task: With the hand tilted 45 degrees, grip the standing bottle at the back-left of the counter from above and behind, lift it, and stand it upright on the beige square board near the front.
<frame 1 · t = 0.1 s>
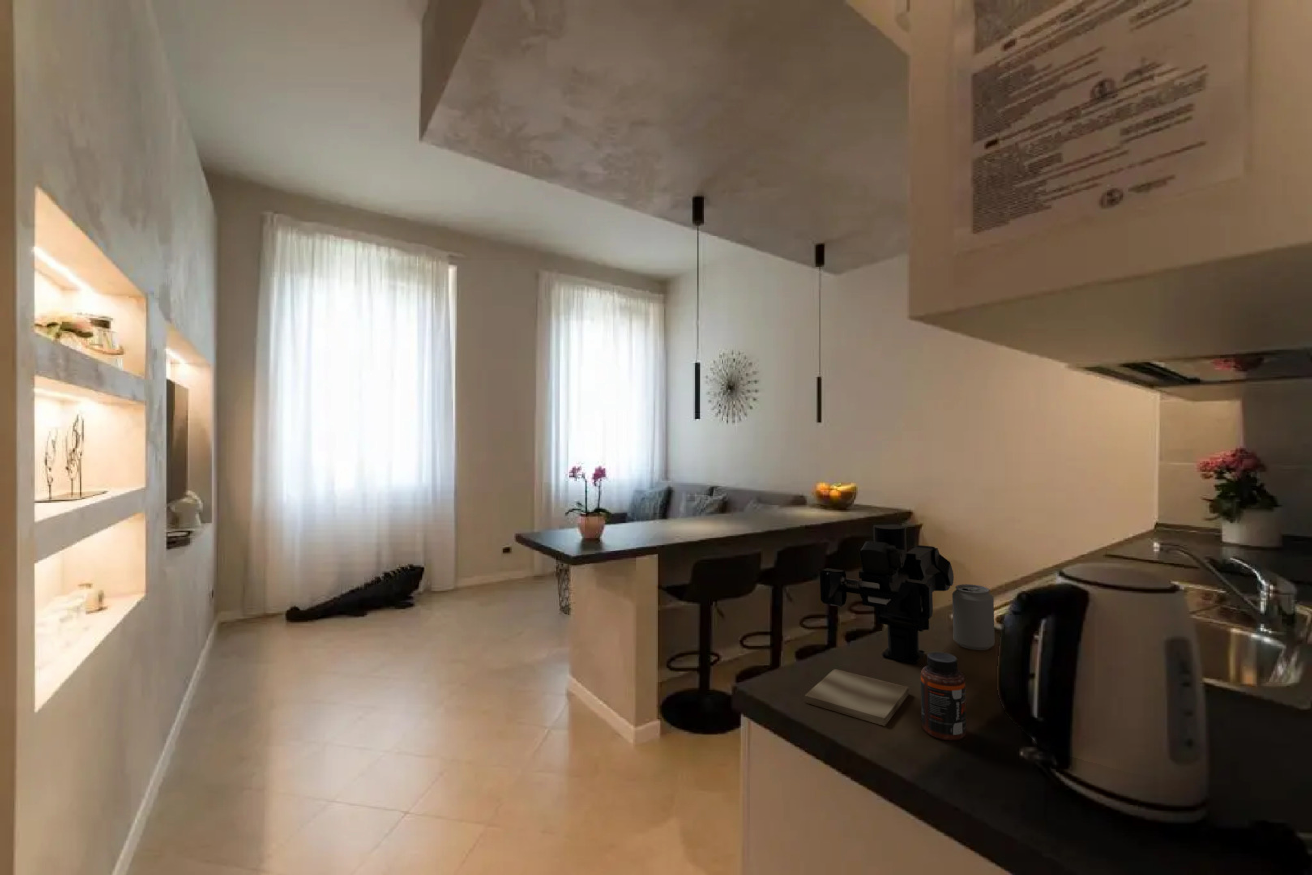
hand: (856, 605, 93), 17 cm above the worktop, tool horizontal, fingers open, 9 cm apart
supplement bottle: (943, 733, 85), on the worktop
can: (973, 645, 118), on the worktop
beige square board: (857, 698, 96), on the worktop
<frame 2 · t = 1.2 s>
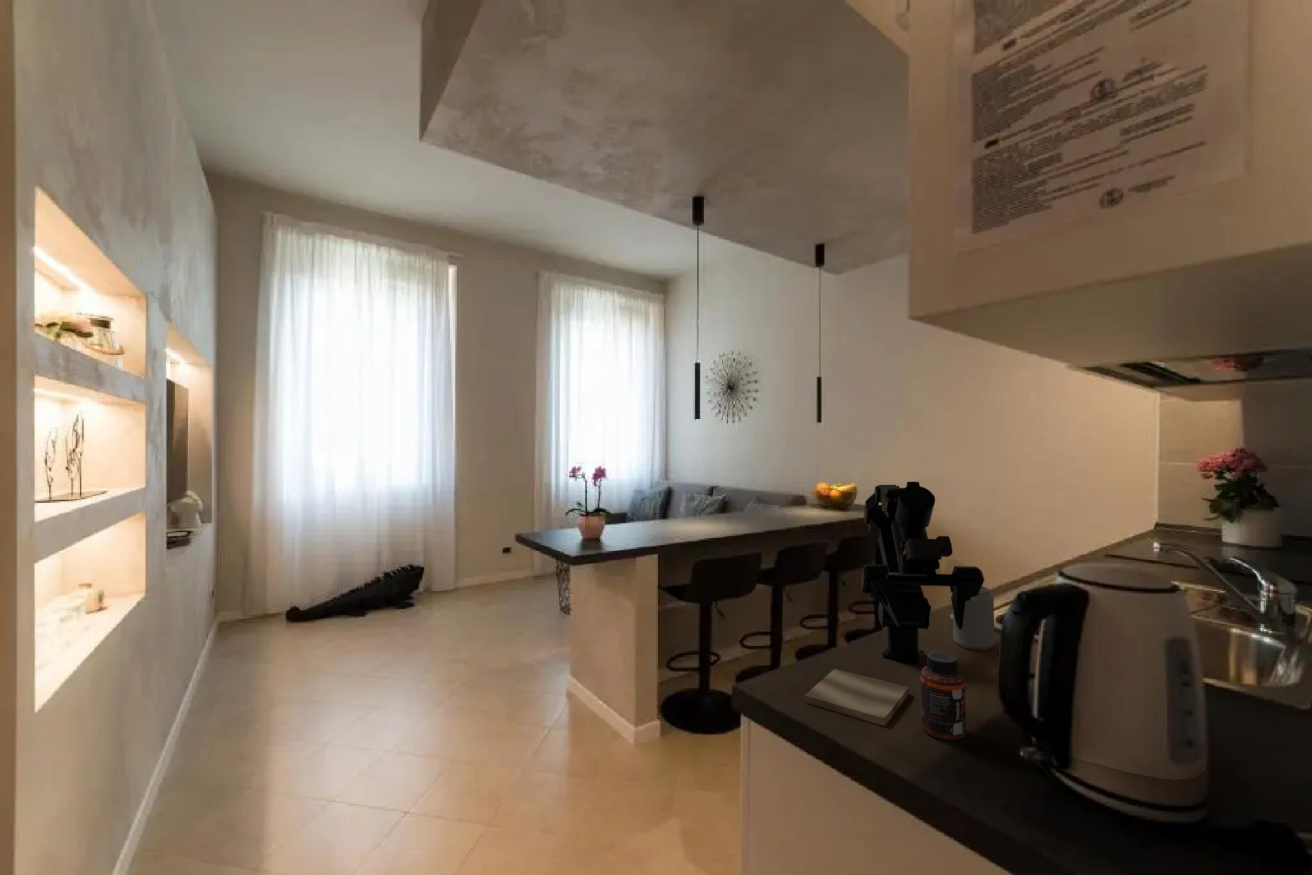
hand: (929, 626, 91), 13 cm above the worktop, tool tilted 45°, fingers open, 9 cm apart
nothing on the worktop moved.
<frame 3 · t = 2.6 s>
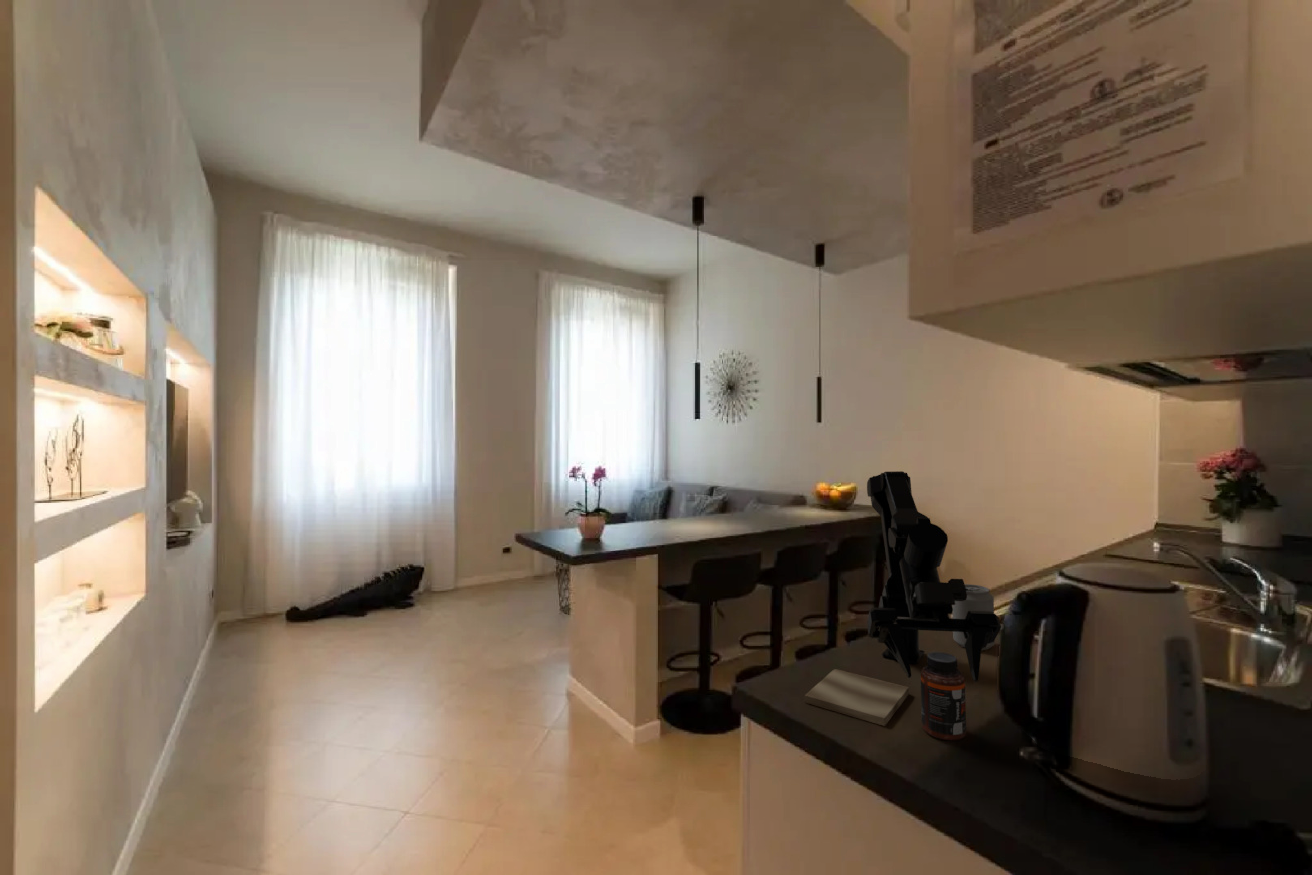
hand: (942, 678, 85), 8 cm above the worktop, tool tilted 45°, fingers open, 9 cm apart
nothing on the worktop moved.
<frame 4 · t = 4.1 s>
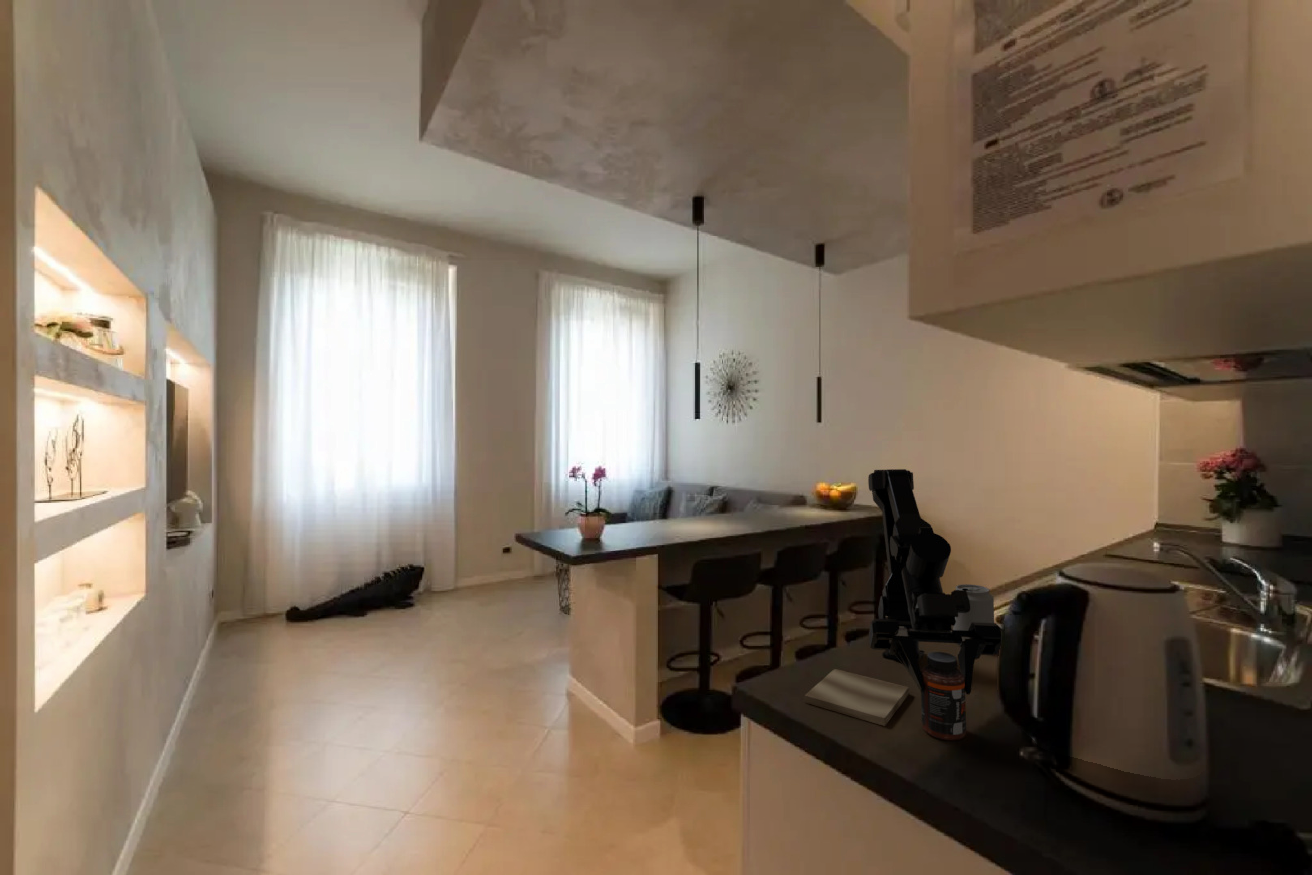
hand: (945, 692, 83), 7 cm above the worktop, tool tilted 45°, fingers closed on supplement bottle, 6 cm apart
supplement bottle: (943, 733, 85), on the worktop, touching gripper
everything else where it was.
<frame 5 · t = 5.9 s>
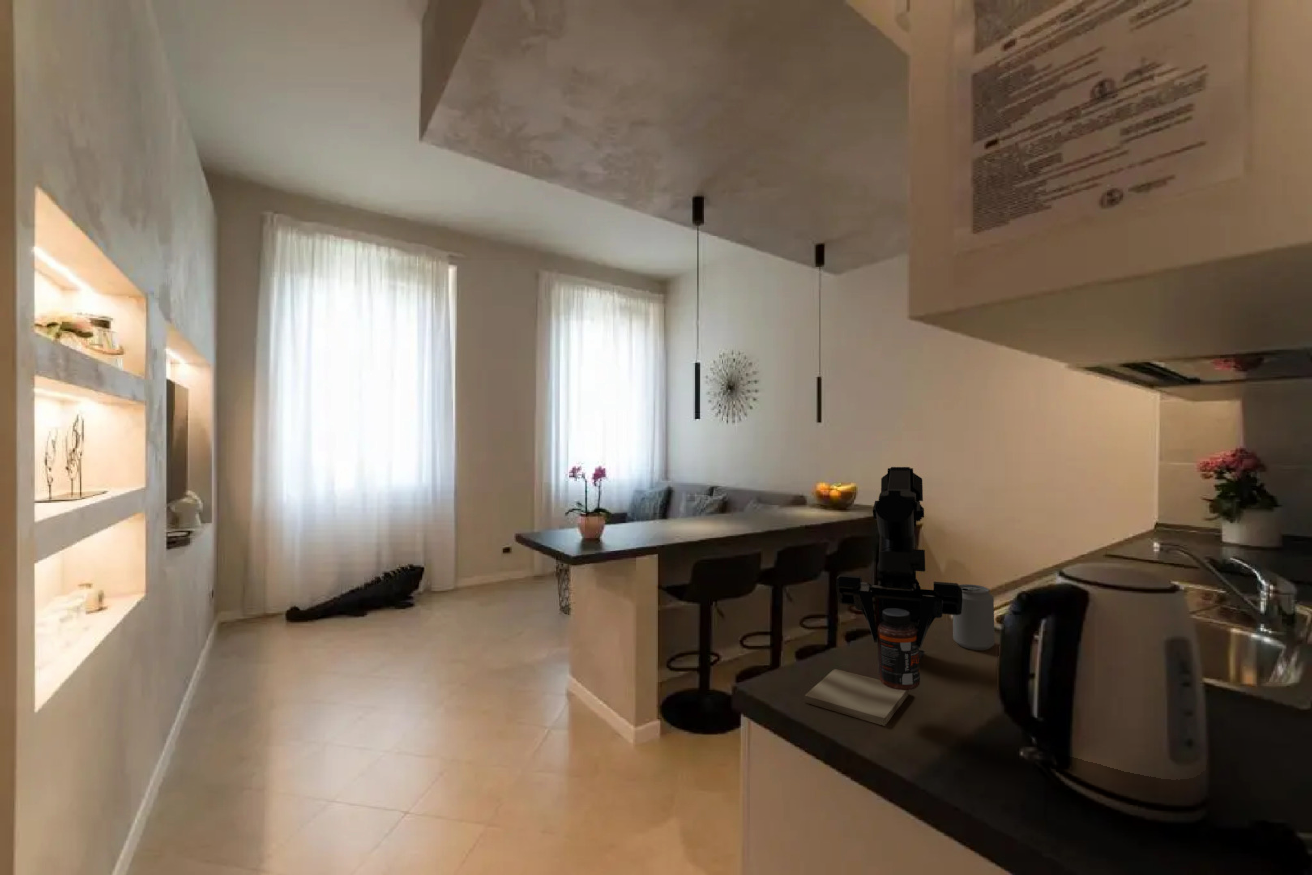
hand: (896, 643, 88), 12 cm above the worktop, tool tilted 45°, fingers closed on supplement bottle, 6 cm apart
supplement bottle: (899, 684, 89), point 5 cm above the worktop, touching gripper
everything else where it was.
when the fingers open (9 cm above the worktop, at t = 8.1 s): supplement bottle stays where it is, resting on beige square board.
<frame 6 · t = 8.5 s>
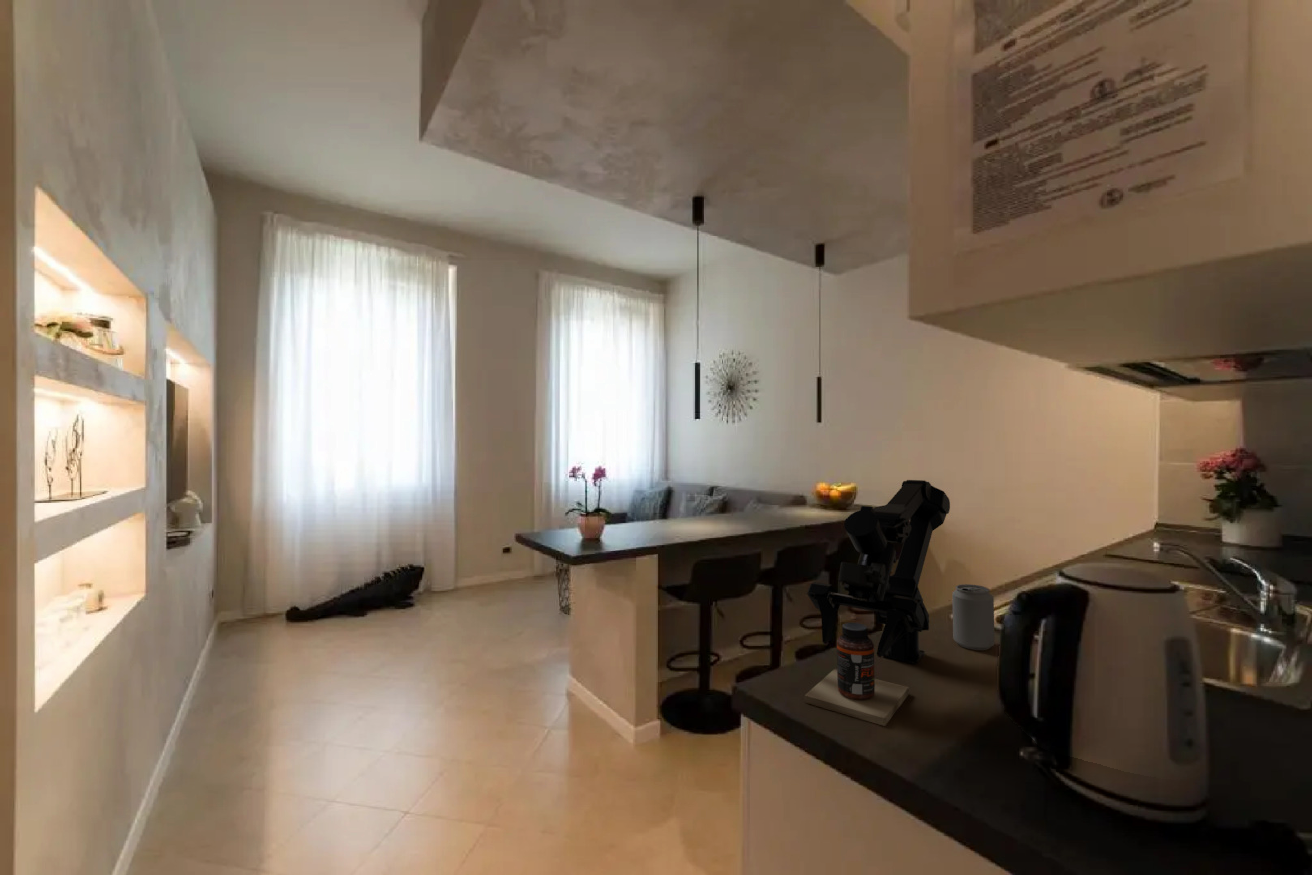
hand: (850, 649, 94), 9 cm above the worktop, tool tilted 45°, fingers open, 9 cm apart
supplement bottle: (856, 694, 95), point 1 cm above the worktop, touching beige square board
everything else where it was.
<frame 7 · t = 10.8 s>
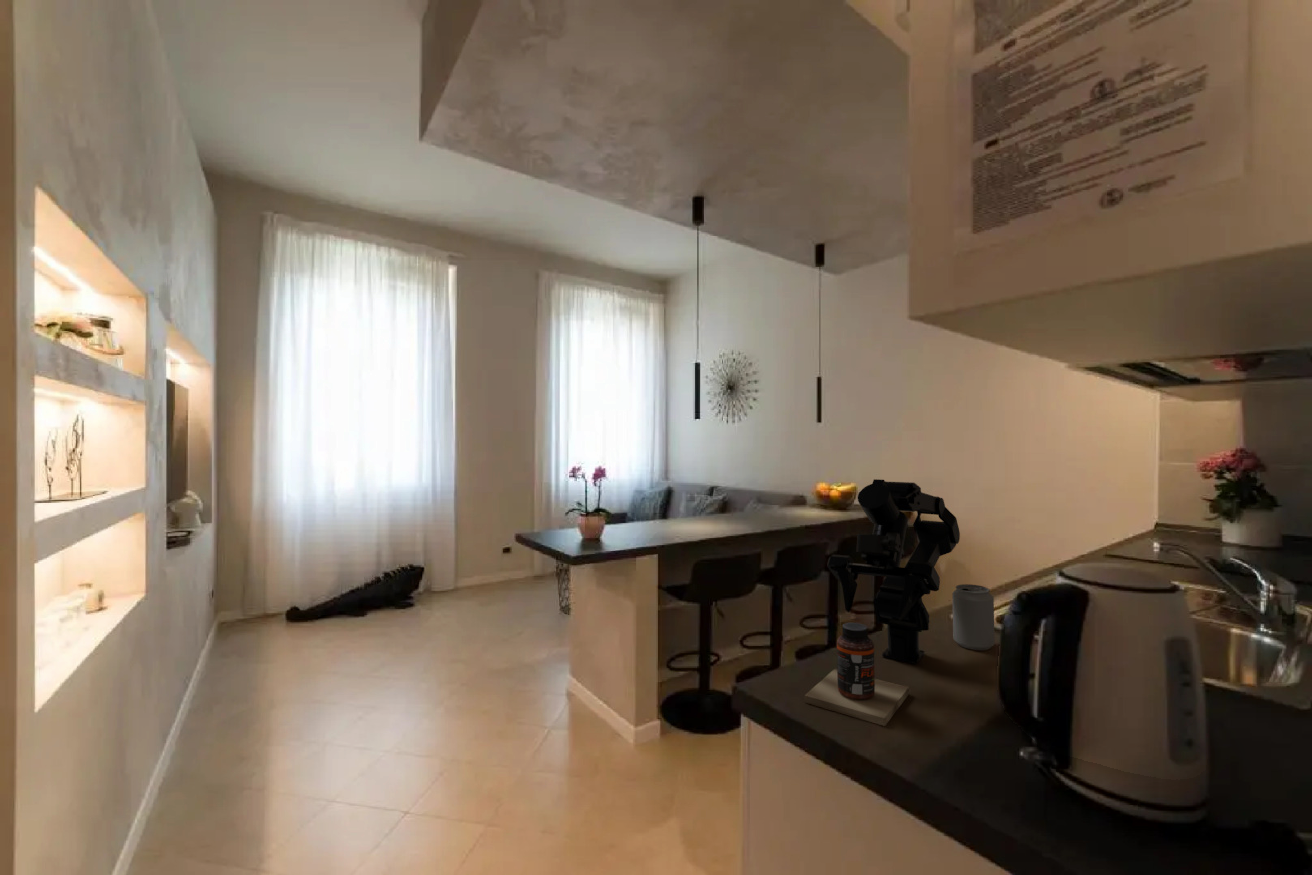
hand: (872, 614, 100), 13 cm above the worktop, tool tilted 40°, fingers open, 9 cm apart
nothing on the worktop moved.
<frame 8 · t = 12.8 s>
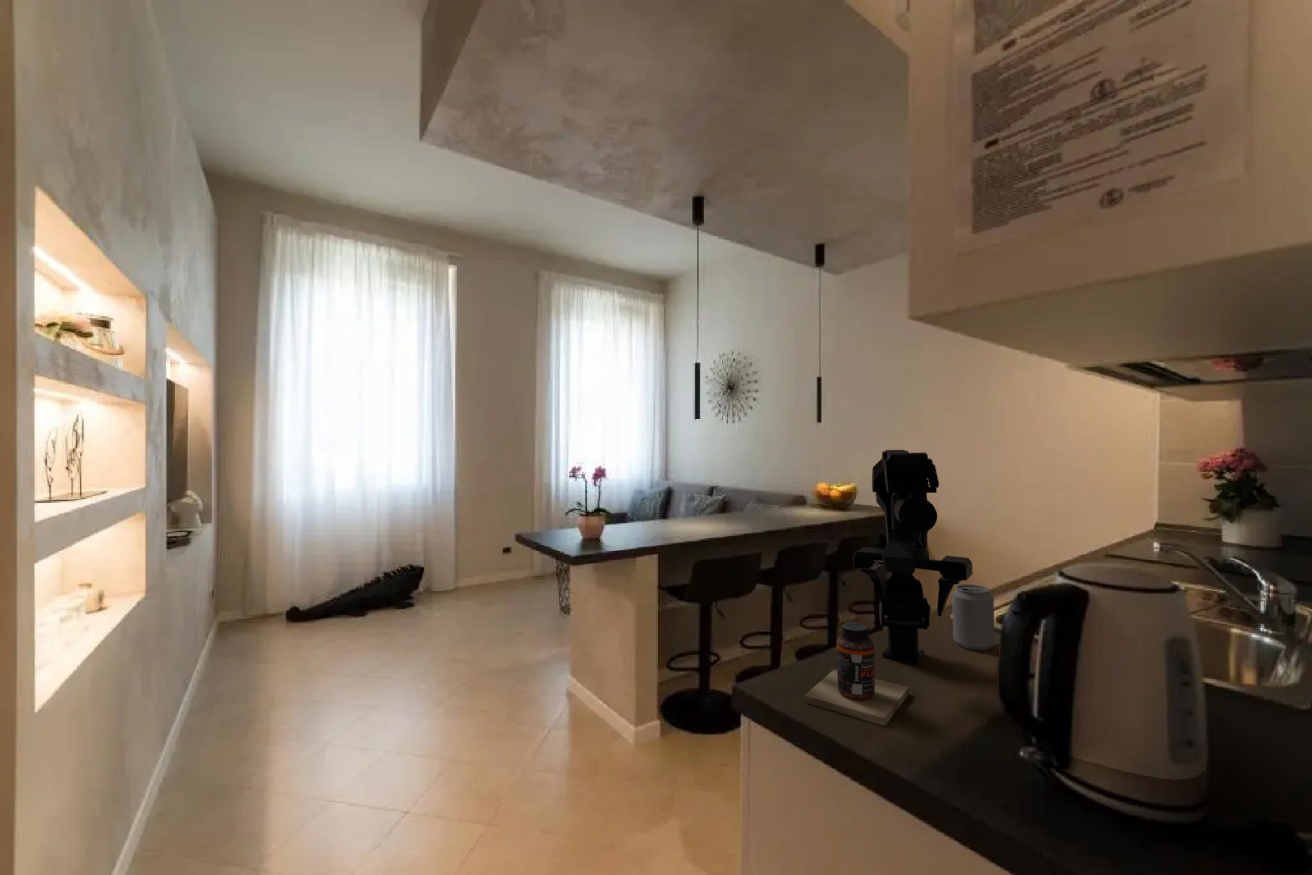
hand: (911, 611, 100), 13 cm above the worktop, tool pointing down, fingers open, 9 cm apart
nothing on the worktop moved.
at the end: supplement bottle inside the target area on the beige square board (0.8 cm from its centre), point 1.0 cm above the beige square board's base; supplement bottle tilted 0°; the gripper is holding nothing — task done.
